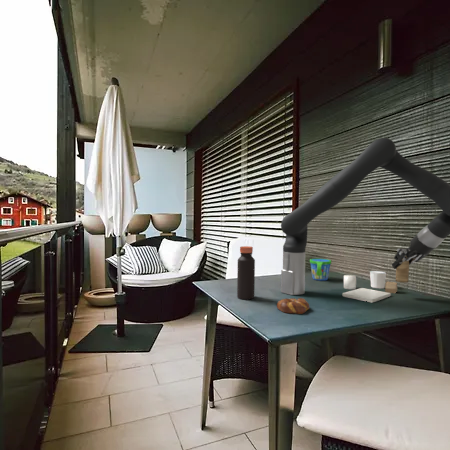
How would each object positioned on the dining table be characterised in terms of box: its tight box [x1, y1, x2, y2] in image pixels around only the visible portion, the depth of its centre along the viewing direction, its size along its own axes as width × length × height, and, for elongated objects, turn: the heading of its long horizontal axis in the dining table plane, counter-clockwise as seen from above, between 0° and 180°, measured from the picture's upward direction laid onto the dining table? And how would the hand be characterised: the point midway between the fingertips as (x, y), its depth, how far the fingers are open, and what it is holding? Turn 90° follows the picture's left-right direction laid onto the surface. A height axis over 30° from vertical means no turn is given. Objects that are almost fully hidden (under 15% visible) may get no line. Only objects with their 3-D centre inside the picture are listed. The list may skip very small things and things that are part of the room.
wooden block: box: [384, 281, 398, 294], centre depth 132 cm, size 4×4×4 cm
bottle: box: [236, 245, 256, 301], centre depth 120 cm, size 7×7×20 cm
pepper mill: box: [395, 248, 410, 284], centre depth 122 cm, size 4×4×13 cm
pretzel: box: [276, 297, 310, 315], centre depth 106 cm, size 12×11×4 cm
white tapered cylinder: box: [369, 270, 387, 289], centre depth 141 cm, size 7×7×7 cm
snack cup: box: [309, 258, 332, 282], centre depth 157 cm, size 16×10×10 cm
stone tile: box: [341, 287, 392, 304], centre depth 124 cm, size 16×12×1 cm
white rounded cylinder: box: [343, 274, 357, 290], centre depth 138 cm, size 5×5×6 cm
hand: (398, 266), depth 124 cm, fingers closed on pepper mill, 4 cm apart
